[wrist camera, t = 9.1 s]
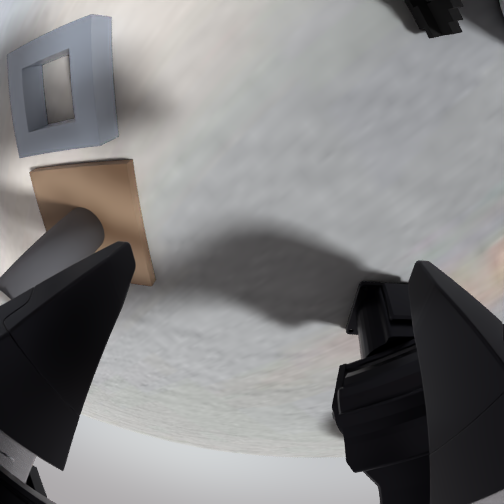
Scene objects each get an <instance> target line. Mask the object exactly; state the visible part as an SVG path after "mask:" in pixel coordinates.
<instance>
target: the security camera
mask: <svg viewBox="0 0 504 504" xmlns="http://www.w3.org/2000/svg"><path fill="white" fill-rule="evenodd" d="M404 1H405V2H406V4H407V6H408V8H409V10H410V11H411V13H412V15H413V17H414V19H415V21H416V23H417V25H418V27H419V29H423V28H424V29H425V31H426V33H427V35H428V37H429V38H434V37H439V36H443V35H450V34H456V33H461V32H462V30H461V28H460V26H459V23H458V21H459V20H463V18H462V16H461V14H460V12H459V10H458V8H459V7H463V4H462V2H461V0H404Z"/></svg>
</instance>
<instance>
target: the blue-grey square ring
mask: <svg viewBox="0 0 504 504" xmlns="http://www.w3.org/2000/svg"><path fill="white" fill-rule="evenodd" d="M66 55H70V74H71V87H72V98H73V107H74V115H75V118H74V119H69V120H65V121H61V122H56V123H52V124H48V121H47V113H46V105H45V96H44V86H43V72H42V65H44V64H46V63H48V62H51V61H53V60H56V59H58V58H61V57H64V56H66ZM7 64H8V81H9V93H10V103H11V111H12V118H13V125H14V131H15V137H16V142H17V148H18V152H19V157H20V158H23V157H28V156H33V155H39V154H44V153H50V152H57V151H63V150H70V149H77V148H85V147H93V146H101V145H103V144H105V143H107V142H109V141H111V140H113V139H115V138H117V137H119V133H118V124H117V115H116V105H115V94H114V80H113V63H112V17H109V16H102V15H93V14H91V15H88V16H85V17H83V18H80V19H78V20H75V21H73V22H70V23H68V24H66V25H63V26H61V27H59V28H57V29H55V30H52V31H50V32H48V33H46V34H44V35H42V36H40V37H38V38H36V39H34V40H32V41H30V42H29V43H27V44H25V45H23V46H21V47H20V48H18V49H16V50H14V51H13V52H11V53H9V54H8V55H7Z"/></svg>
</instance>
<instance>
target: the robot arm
mask: <svg viewBox="0 0 504 504" xmlns="http://www.w3.org/2000/svg"><path fill="white" fill-rule="evenodd" d="M135 268H136V262H135V258H134V255H133V251H132V248H131V245H130V243H129V242H124V241H117V242H115V243H113V244H111V245H109V246H107V247H105V248H103V249H101V250H99V251H98V252H96V253H94V254H92V255H90V256H88V257H86V258H84V259H82V260H81V261H79V262H77V263H75V264H73V265H71V266H69V267H68V268H66V269H64V270H62V271H60V272H59V273H57V274H55V275H53V276H51V277H50V278H48V279H46V280H44V281H43V282H41V283H39V284H37V285H36V286H35V287H32V288H31V289H29V290H27V291H25V292H24V293H22V294H20V295H18V296H17V297H15V298H13V299H11V300H10V301H8V302H6V303H4V304H2V305H1V306H0V504H56V503H54V502H53V501H51V500H49V499H48V498H47V496H46V493H45V490H44V488H43V485H42V482H41V479H40V476H39V473H38V470H37V468H36V467H34V466H33V463H34V461H35V458H36V456H38V457H39V458H41V459H43V460H44V461H46V462H48V463H49V464H51V465H53V466H55V467H56V468H58V469H60V470H62V471H63V470H64V467H65V464H66V460H67V457H68V453H69V450H70V446H71V443H72V439H73V436H74V433H75V430H76V427H77V424H78V420H79V415H80V414H81V411H82V408H83V405H84V402H85V399H86V396H87V394H88V391H89V388H90V385H91V383H92V380H93V377H94V374H95V372H96V369H97V367H98V364H99V361H100V359H101V356H102V354H103V351H104V349H105V346H106V344H107V342H108V339H109V337H110V334H111V332H112V330H113V327H114V325H115V323H116V320H117V318H118V316H119V314H120V311H121V309H122V306H123V304H124V301H125V298H126V295H127V292H128V289H129V286H130V283H131V280H132V277H133V274H134V272H135ZM363 287H366V288H363ZM350 329H352V330H350ZM346 333H347V334H354V335H358V336H359V344H360V353H361V360H358V361H355V362H352V363H349V364H343V365H340V367H339V372H338V377H337V382H336V388H335V393H334V398H333V404H332V410H333V413H332V415H333V418H334V419H335V420H336V423H337V426H338V428H339V430H340V432H341V433H342V434H343V436H344V442H345V453H346V462H347V463H348V465H349V466H350V468H351V469H352V470H353V472H355V473H357V472H362V471H363V472H364V473H365V474H366V475H367V476H368V477H369V478H370V479H371V480H372V481H373V482H375V484H376V485H377V486H378V489H379V496H380V504H472V503H473V504H504V324H502V322H501V321H500V320H499V319H498V318H497V317H496V316H495V315H494V314H492V313H491V312H490V311H489V310H488V309H487V308H486V307H485V306H483V305H482V304H481V303H480V302H479V301H478V300H476V299H475V298H474V297H473V296H472V295H471V294H469V293H468V292H467V291H466V290H465V289H463V288H462V287H461V286H460V285H458V284H457V283H456V282H455V281H454V280H452V279H451V278H450V277H449V276H447V275H446V274H445V273H443V272H442V271H441V270H440V269H438V268H437V267H436V266H435V265H433V264H432V263H431V262H429V261H420V260H418V261H417V262H416V263H415V265H414V268H413V271H412V273H411V276H410V279H409V282H408V284H396V283H381V282H367V281H365V282H361V283H360V284H359V287H358V290H357V294H356V297H355V300H354V304H353V307H352V310H351V314H350V317H349V320H348V323H347V326H346Z"/></svg>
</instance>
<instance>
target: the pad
mask: <svg viewBox="0 0 504 504" xmlns="http://www.w3.org/2000/svg"><path fill="white" fill-rule="evenodd" d="M29 173H30V177H31V181H32V185H33V188H34V192H35V196H36V199H37V203H38V206H39V210H40V213H41V216H42V219H43V222H44V225H45V228H46V231H48V230H49V229H51V228H52V227H53V226H54V225H55V224H56V223H57V222H59V221H60V220H61V219H62V218H63V217H64V216H66V215H67V214H68V213H69V212H70V211H72V210H73V209H74V208H77V207H83V208H86V209H88V210H90V211H91V212H93V213H94V214H95V215H96V216H97V217H98V219H99V220H100V222H101V224H102V226H103V229H104V234H105V237H104V241H103V243H102V245H101V246H100V247H99V248H98V249H97V250H96V251H95V253H96V252H98V251H99V250H101V249H103V248H105V247H107V246H109V245H111V244H113V243H115V242H117V241H124V242H129V243H130V245H131V248H132V251H133V255H134V258H135V262H136V268H135V272H134V274H133V277H132V280H131V284H138V285H145V286H153V284H154V282H155V280H156V279H155V274H154V270H153V266H152V262H151V257H150V253H149V248H148V243H147V239H146V234H145V229H144V224H143V219H142V213H141V208H140V202H139V197H138V191H137V185H136V178H135V172H134V165H133V160H115V161H101V162H89V163H78V164H68V165H59V166H51V167H43V168H36V169H34V170H33V171H31V172H29Z"/></svg>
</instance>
